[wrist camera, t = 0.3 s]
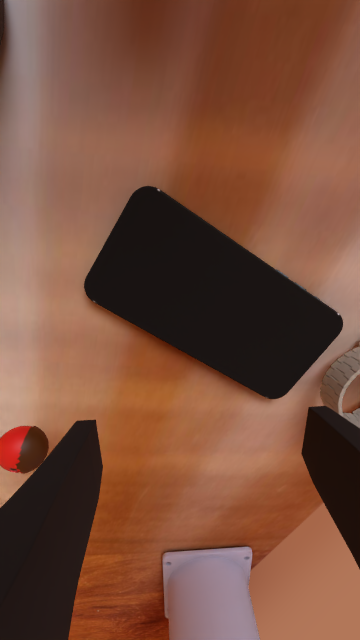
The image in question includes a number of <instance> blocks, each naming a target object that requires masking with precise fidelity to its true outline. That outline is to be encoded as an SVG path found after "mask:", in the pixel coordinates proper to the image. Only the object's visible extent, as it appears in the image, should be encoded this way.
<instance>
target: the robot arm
mask: <svg viewBox="0 0 360 640" xmlns="http://www.w3.org/2000/svg"><path fill="white" fill-rule="evenodd" d="M302 456H303V458H304V461H305V464H306V466H307V469H308V471H309V474H310V476H311V479H312V481H313V483H314V485H315V487H316V489H317V491H318V493H319V495H320V496H321V498H322V500H323V502H324V504H325V506H326V508H327V509H328V511H329V513H330V515H331V517H332V518H333V520H334V522H335V524H336V526H337V528H338V529H339V531H340V533H341V535H342V537H343V538H344V540H345V542H346V544H347V546H348V548H349V549H350V551H351V553H352V555H353V557H354V559H355V561H356V563H357V565H358V567H359V569H360V428H359V427H357V426H356V425H354V424H353V423H351V422H350V421H348V420H347V419H345V418H344V417H343V416H341V415H340V414H338V413H337V412H335V411H334V410H332V409H330V408H329V407H327V406H318V407H309V409H308V416H307V422H306V428H305V435H304V441H303V447H302ZM102 469H103V465H102V458H101V452H100V445H99V439H98V432H97V426H96V420H84V421H76V422H75V423H74V425H73V426H72V427H71V428H70V430H69V431H68V432H67V433H66V435H65V436H64V437H63V438H62V440H61V441H60V442H59V443H58V445H57V446H56V447H55V448H54V449H53V451H52V452H51V453H50V454H49V455H48V457H47V458H46V459H45V460H44V461H43V462H42V464H41V465H40V466H39V467H38V468H37V469H36V471H35V472H34V473H33V474H32V475H31V476H30V477H29V479H28V480H27V481H26V482H25V483H24V484H23V485H22V486H21V487H20V488H19V489H18V490H17V491H16V492H15V494H14V495H13V496H12V497H11V498H10V499H9V500H8V501H7V502H6V503H5V504H4V505H3V506H2V507H1V508H0V640H68V637H69V631H70V625H71V618H72V612H73V606H74V600H75V595H76V590H77V585H78V580H79V576H80V572H81V568H82V564H83V560H84V556H85V552H86V548H87V544H88V540H89V536H90V532H91V528H92V524H93V519H94V515H95V511H96V507H97V503H98V499H99V492H100V485H101V477H102ZM251 561H252V550H251V548H250V547H234V548H220V549H206V550H192V551H178V552H166V553H164V554H163V582H164V606H165V617H166V618H169V640H260V638H259V633H258V629H257V624H256V620H255V616H254V611H253V607H252V602H251V598H250V594H249V589H248V585H249V577H250V569H251Z"/></svg>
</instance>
